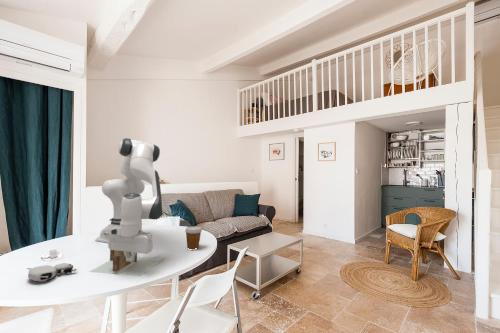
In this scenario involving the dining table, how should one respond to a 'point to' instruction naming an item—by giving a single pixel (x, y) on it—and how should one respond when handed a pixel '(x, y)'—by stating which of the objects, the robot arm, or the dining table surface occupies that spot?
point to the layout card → (129, 267)
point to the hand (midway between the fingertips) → (129, 261)
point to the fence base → (114, 253)
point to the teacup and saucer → (51, 255)
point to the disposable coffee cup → (193, 236)
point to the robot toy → (49, 271)
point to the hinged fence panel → (120, 261)
